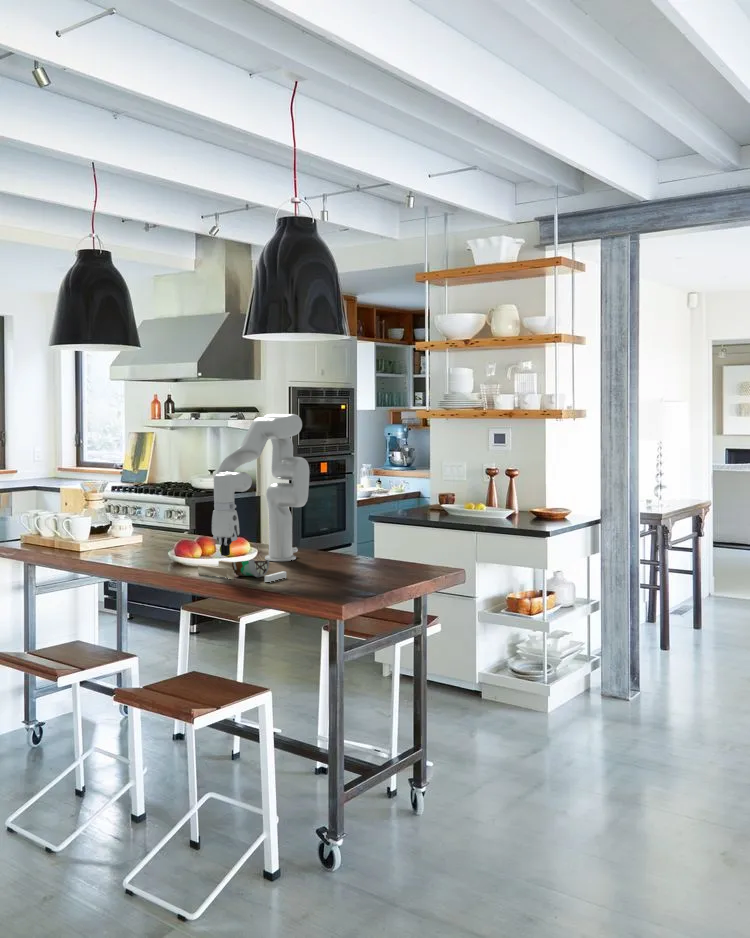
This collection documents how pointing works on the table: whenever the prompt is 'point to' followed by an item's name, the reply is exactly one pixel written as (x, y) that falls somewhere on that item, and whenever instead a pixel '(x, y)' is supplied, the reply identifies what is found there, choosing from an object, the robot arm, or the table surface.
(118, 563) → the table surface
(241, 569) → the food container
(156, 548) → the table surface
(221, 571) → the chute
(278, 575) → the white notched bar
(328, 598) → the table surface
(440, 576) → the table surface
